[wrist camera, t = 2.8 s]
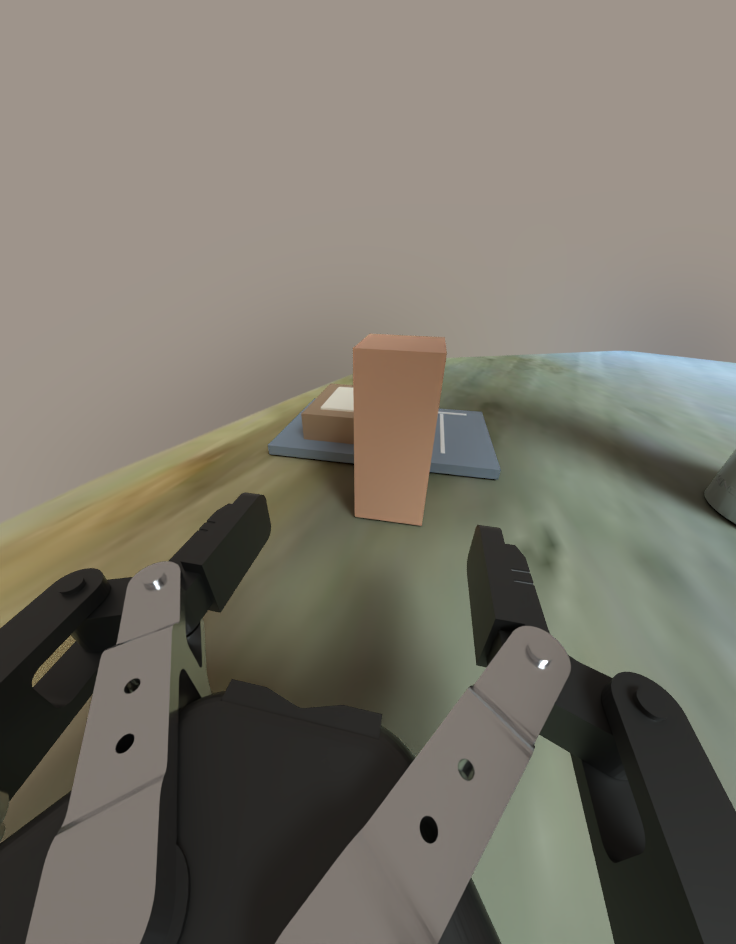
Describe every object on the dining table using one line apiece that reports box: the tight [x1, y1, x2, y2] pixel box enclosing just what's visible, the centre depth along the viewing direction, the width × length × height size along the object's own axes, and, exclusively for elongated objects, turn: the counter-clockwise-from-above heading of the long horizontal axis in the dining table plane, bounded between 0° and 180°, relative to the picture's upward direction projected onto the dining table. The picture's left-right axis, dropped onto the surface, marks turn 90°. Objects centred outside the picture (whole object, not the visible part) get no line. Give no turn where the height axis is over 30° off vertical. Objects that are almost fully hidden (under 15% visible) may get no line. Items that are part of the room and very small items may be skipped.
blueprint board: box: [268, 384, 501, 479], centre depth 34 cm, size 22×14×4 cm, turn 79°
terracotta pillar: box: [353, 334, 447, 526], centre depth 22 cm, size 5×5×12 cm
